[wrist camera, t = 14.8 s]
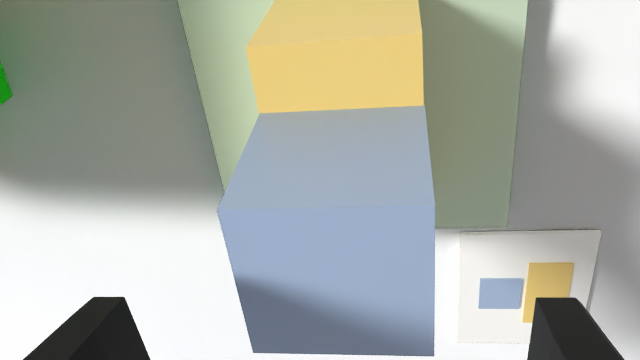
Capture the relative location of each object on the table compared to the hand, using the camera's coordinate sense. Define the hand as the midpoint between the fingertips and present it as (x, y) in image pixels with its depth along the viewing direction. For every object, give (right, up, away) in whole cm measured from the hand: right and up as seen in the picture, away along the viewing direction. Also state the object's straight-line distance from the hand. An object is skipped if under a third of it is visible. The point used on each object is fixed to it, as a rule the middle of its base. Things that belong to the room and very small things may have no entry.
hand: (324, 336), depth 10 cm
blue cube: (+1, +3, +5) cm, 5 cm away
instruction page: (+8, -2, +13) cm, 15 cm away
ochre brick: (+1, +5, +8) cm, 9 cm away
